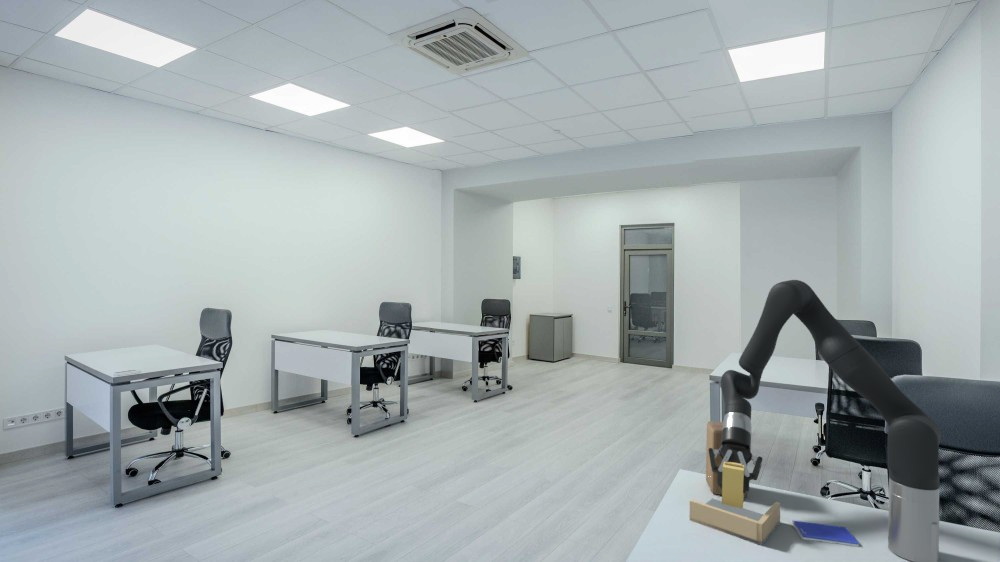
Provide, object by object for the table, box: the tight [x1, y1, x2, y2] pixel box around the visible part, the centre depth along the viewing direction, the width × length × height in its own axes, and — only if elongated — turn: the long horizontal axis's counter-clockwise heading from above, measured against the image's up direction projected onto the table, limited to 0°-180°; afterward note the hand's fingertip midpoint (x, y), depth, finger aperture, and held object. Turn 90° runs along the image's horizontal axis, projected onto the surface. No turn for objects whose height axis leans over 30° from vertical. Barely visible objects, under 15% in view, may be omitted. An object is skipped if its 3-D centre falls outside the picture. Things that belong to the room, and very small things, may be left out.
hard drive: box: [791, 520, 860, 548], centre depth 126 cm, size 2×8×12 cm
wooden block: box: [705, 420, 748, 498], centre depth 152 cm, size 10×10×20 cm
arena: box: [689, 498, 781, 546], centre depth 133 cm, size 18×16×5 cm
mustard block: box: [721, 461, 745, 508], centre depth 132 cm, size 5×5×10 cm
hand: (732, 489), depth 130 cm, fingers closed on mustard block, 5 cm apart
